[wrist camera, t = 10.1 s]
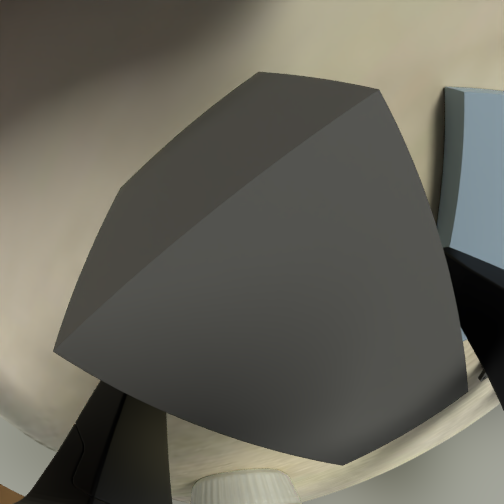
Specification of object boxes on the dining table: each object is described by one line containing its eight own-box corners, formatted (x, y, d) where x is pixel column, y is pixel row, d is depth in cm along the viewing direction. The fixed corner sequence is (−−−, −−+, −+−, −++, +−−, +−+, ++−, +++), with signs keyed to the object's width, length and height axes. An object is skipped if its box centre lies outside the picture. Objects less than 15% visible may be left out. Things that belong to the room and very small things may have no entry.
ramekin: (160, 477, 22) (164, 527, 18) (276, 453, 22) (290, 509, 17) (214, 496, 29) (221, 534, 24) (305, 475, 28) (317, 514, 24)
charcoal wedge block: (400, 296, 13) (468, 399, 8) (311, 355, 14) (354, 467, 9) (257, 71, 7) (378, 89, 2) (121, 187, 9) (52, 351, 4)
